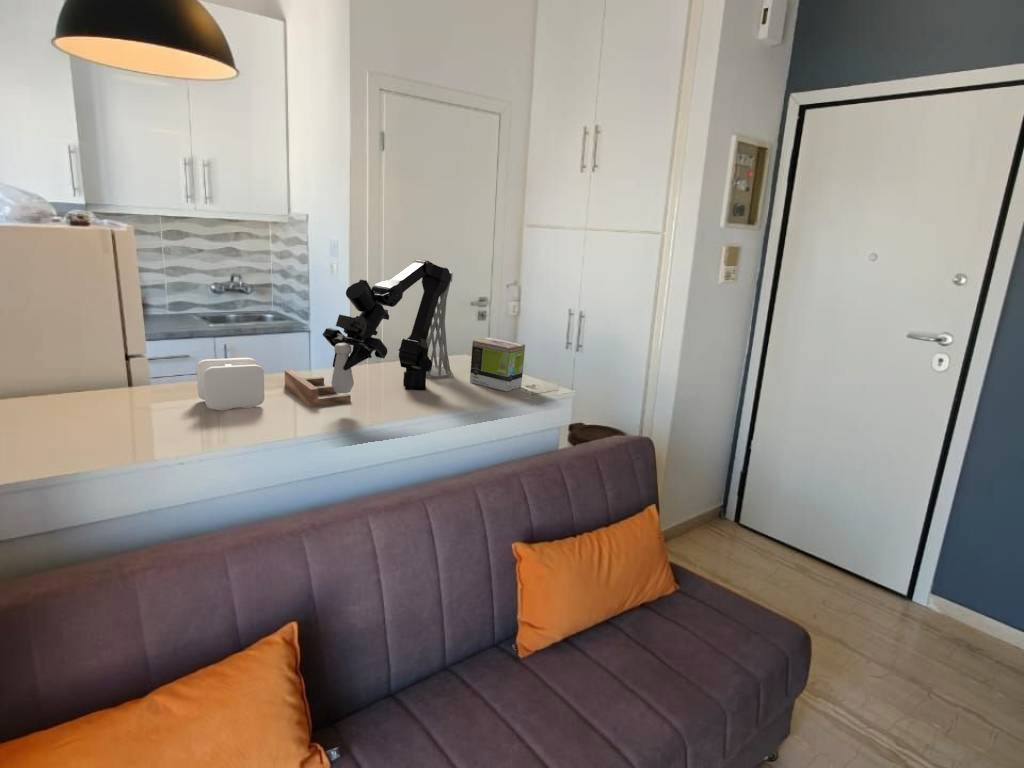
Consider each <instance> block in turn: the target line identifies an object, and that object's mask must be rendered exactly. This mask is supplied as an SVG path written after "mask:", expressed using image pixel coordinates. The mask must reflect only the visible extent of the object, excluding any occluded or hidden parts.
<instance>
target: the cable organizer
mask: <svg viewBox="0 0 1024 768" xmlns="http://www.w3.org/2000/svg"><path fill="white" fill-rule="evenodd" d="M196 382H197V384H196V386H197V396H198V397H199V399H201V400H203V401H204V402H205V405H206V407H207V408H208V409H211V410H215V411H217V410H219V411H226V410H230V409H234V408H242V409H253V408H252V407H254V408H257V407H258V406H260V405H262V404H263V403H265V402H264V401H265V370H264V369H263V368H262V366H260V365H258V362H257V361H256V360H255V359H254V358H251V357H233V358H232V357H231V358H210V359H209V358H208V359H202V360H199V361H198V362H197V363H196Z"/></svg>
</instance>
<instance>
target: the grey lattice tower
mask: <svg viewBox="0 0 1024 768" xmlns="http://www.w3.org/2000/svg"><path fill="white" fill-rule="evenodd" d="M449 272H450V273H451V280H450V282H449V285H448V287H447V290H446V291H445V292H444V293H442V294H441V295H440V296H439V299H438V302H437V306H436V310H437V311H435V312H434V316H433V321H432V322H431V326H430V329H429V330H430V332H428V336H427V339H426V342H427V346H428V350H429V348H430V346H431V344H432V352H431V356H430V360H431V362H432V363H433V362H434V365H432V368H431V370H429V372H426V379H433V380H434V379H445V378H450V377H451V376H452V375H453V372H452V369H451V366H450V360H449V359H450V358H449V355H448V345H447V334H446V333H447V331H446V314H447V313H446V312H447V299H448V295H449V291H450V290H449V289H450V285H451V283H452V282H453V274H454V273H453V271H450V270H449ZM435 331H436V333H434V332H435ZM437 343H438V346H439V351H438V353H439V355H438V358H437V351H436V349H437ZM427 356H428V357H429V354H428V355H427Z"/></svg>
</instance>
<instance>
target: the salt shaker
mask: <svg viewBox="0 0 1024 768" xmlns="http://www.w3.org/2000/svg"><path fill="white" fill-rule="evenodd" d="M335 353H337V355H336V361H335V366H334V367H333V371H332V372H333V373H332V379H331V382H330V383H331V385H332V387H333V389H334V391H335V392H337V393H336V394H349V393H351V392H352V389H353V387H354V384H355V383H354V378H353V371H352V367H351V368H350V369H348V370H346V371H345V370H344V369H343V367H344V365H345V363H346V361H347V360H348V358H349V356H350V354H351V353H352V345H349V344H346V343H338V344H336V345H335V347H334V354H335ZM349 353H350V354H349Z"/></svg>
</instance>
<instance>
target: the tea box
mask: <svg viewBox="0 0 1024 768" xmlns="http://www.w3.org/2000/svg"><path fill="white" fill-rule="evenodd" d="M525 349H526V344H524V343H519V342H514V341H509V340H504V339H499V338H495V337H494V338H493V337H489V336H487V337H483V338H478V339H474V340H472V347H471V359H470V360H471V361H470V370H469V371H470V373H469V375H470V377H469V382H470V383H472V384H476V385H479V386H484V387H487V388H492V389H495V390H499V391H503V392H509V391H513V390H515V388H516V387H518V386H521V387H522V382H523V375H524V374H523V373H524V363H525V362H524V360H525V351H526V350H525ZM512 389H513V390H512ZM516 389H517V388H516Z"/></svg>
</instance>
